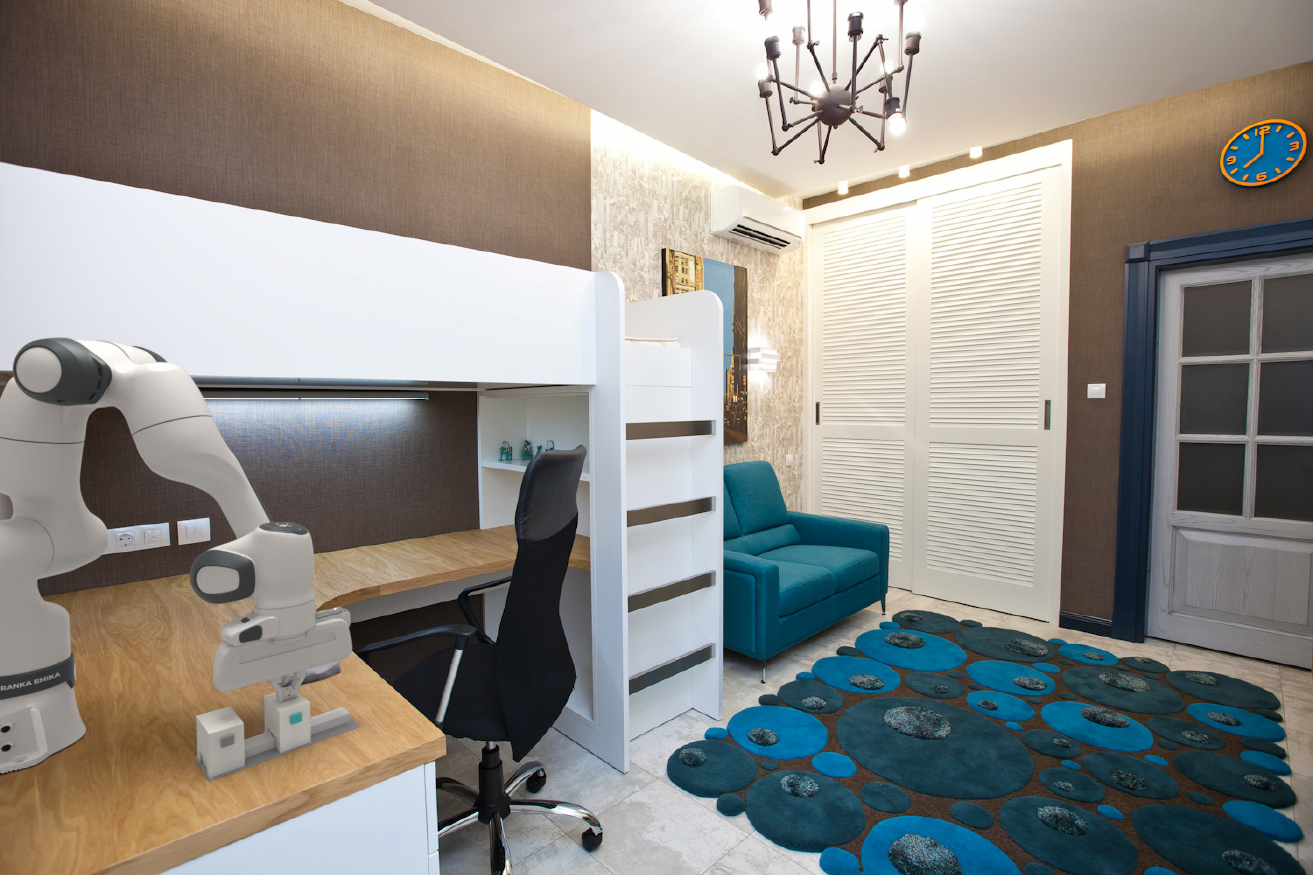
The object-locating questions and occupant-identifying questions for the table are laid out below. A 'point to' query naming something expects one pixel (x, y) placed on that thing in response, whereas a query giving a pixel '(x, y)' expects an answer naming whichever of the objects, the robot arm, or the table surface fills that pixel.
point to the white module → (288, 721)
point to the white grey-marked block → (220, 741)
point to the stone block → (314, 673)
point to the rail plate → (266, 748)
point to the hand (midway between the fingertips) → (287, 698)
